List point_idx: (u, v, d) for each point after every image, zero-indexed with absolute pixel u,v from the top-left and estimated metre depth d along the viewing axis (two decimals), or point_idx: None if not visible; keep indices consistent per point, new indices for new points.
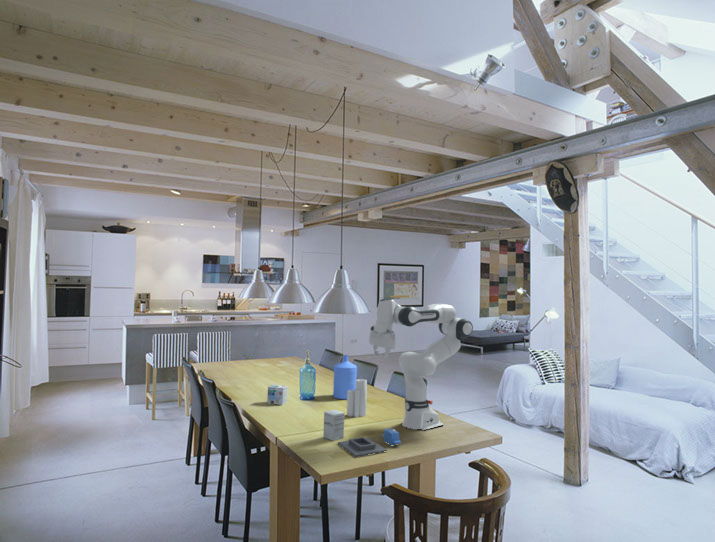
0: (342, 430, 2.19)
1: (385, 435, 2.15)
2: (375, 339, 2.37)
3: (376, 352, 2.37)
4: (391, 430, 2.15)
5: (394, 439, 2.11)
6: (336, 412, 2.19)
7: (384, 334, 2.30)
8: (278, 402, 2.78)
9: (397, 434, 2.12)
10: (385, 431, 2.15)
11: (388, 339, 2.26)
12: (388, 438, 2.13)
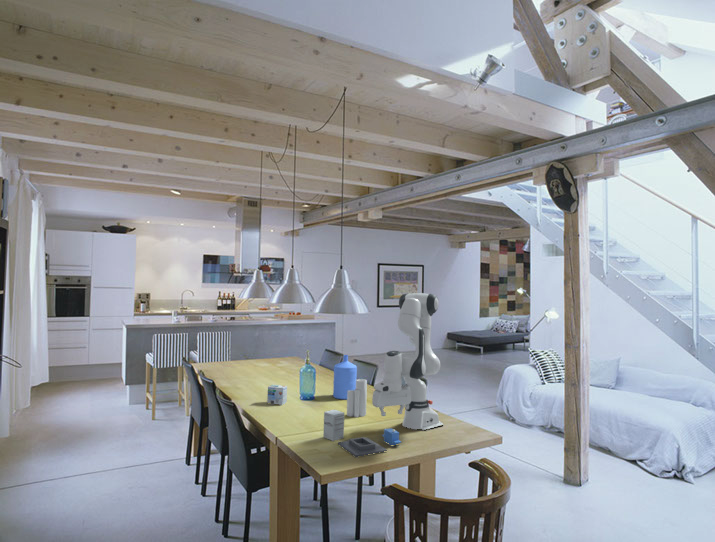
0: (342, 430, 2.19)
1: (385, 435, 2.15)
2: (386, 399, 2.11)
3: None
4: (391, 430, 2.15)
5: (394, 439, 2.11)
6: (336, 412, 2.19)
7: (401, 390, 2.15)
8: (278, 402, 2.78)
9: (397, 434, 2.12)
10: (385, 431, 2.15)
11: (408, 394, 2.17)
12: (388, 438, 2.13)
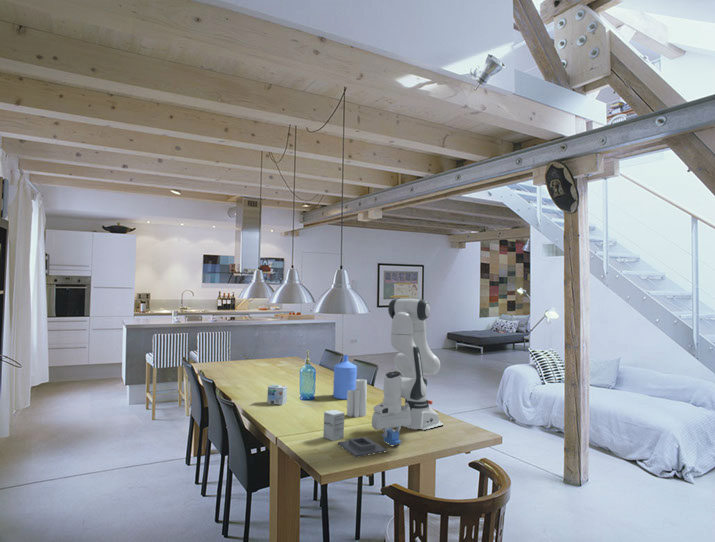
0: (342, 430, 2.19)
1: None
2: (386, 421, 2.11)
3: None
4: (391, 430, 2.15)
5: (394, 439, 2.11)
6: (336, 412, 2.19)
7: (401, 412, 2.15)
8: (278, 402, 2.78)
9: (397, 434, 2.12)
10: None
11: (408, 415, 2.17)
12: (388, 438, 2.13)
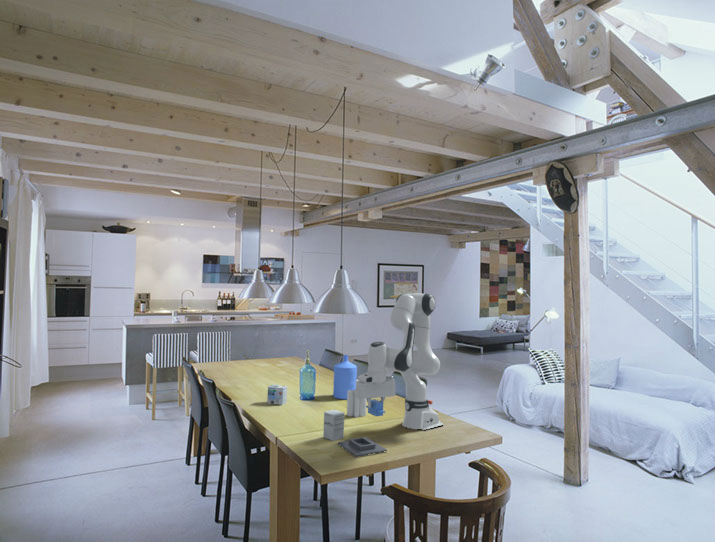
0: (342, 430, 2.19)
1: None
2: (370, 390, 2.07)
3: None
4: (375, 400, 2.10)
5: (378, 409, 2.06)
6: (336, 412, 2.19)
7: (385, 382, 2.11)
8: (278, 402, 2.78)
9: (381, 404, 2.07)
10: None
11: (392, 386, 2.13)
12: (372, 408, 2.08)
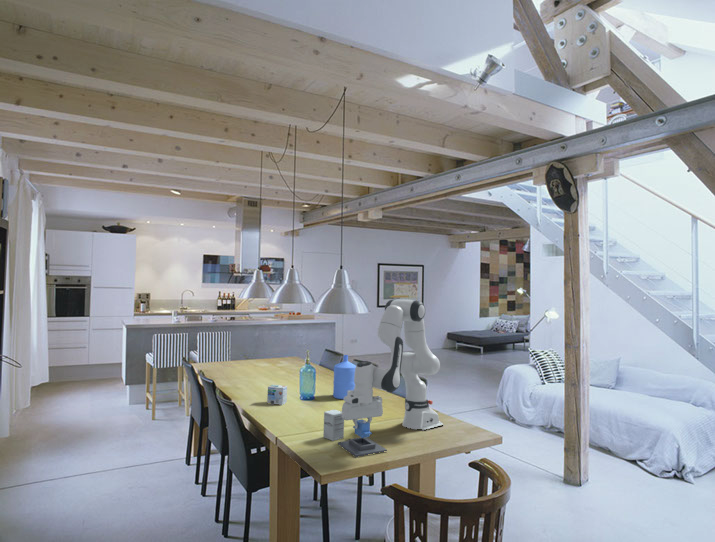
0: (342, 430, 2.19)
1: None
2: (356, 412, 2.03)
3: None
4: (362, 421, 2.07)
5: (364, 430, 2.03)
6: (336, 412, 2.19)
7: (372, 402, 2.08)
8: (278, 402, 2.78)
9: (368, 425, 2.04)
10: None
11: (379, 406, 2.09)
12: (359, 429, 2.05)
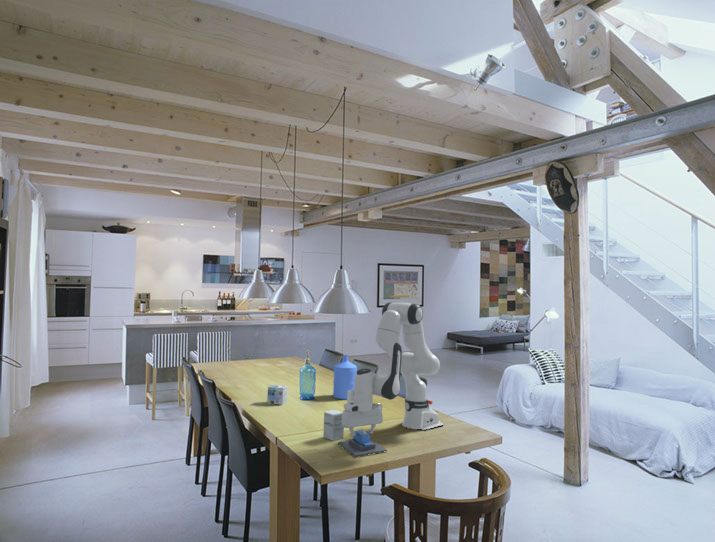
0: (342, 430, 2.19)
1: (356, 437, 2.07)
2: (356, 419, 2.04)
3: None
4: (362, 432, 2.07)
5: (364, 441, 2.03)
6: (336, 412, 2.19)
7: (372, 410, 2.08)
8: (278, 402, 2.78)
9: (368, 436, 2.04)
10: (356, 433, 2.08)
11: (379, 413, 2.09)
12: (359, 440, 2.05)
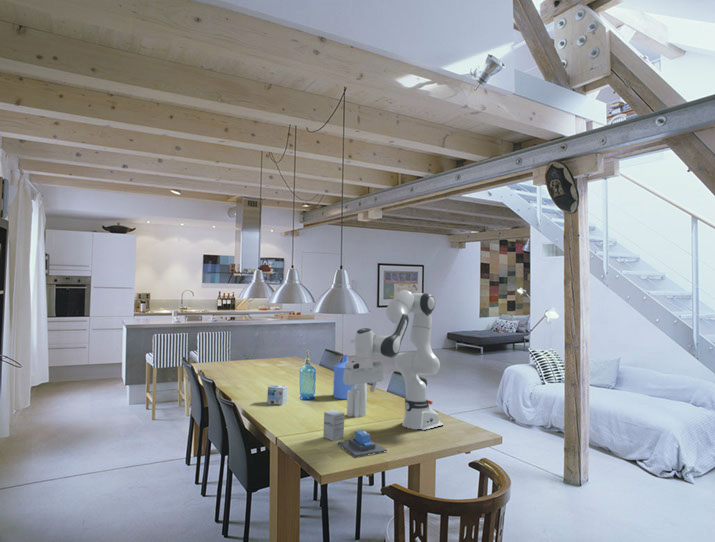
0: (342, 430, 2.19)
1: (356, 437, 2.07)
2: (357, 377, 2.09)
3: None
4: (362, 432, 2.07)
5: (364, 441, 2.03)
6: (336, 412, 2.19)
7: (373, 368, 2.13)
8: (278, 402, 2.78)
9: (368, 436, 2.04)
10: (356, 433, 2.08)
11: (380, 371, 2.15)
12: (359, 440, 2.05)
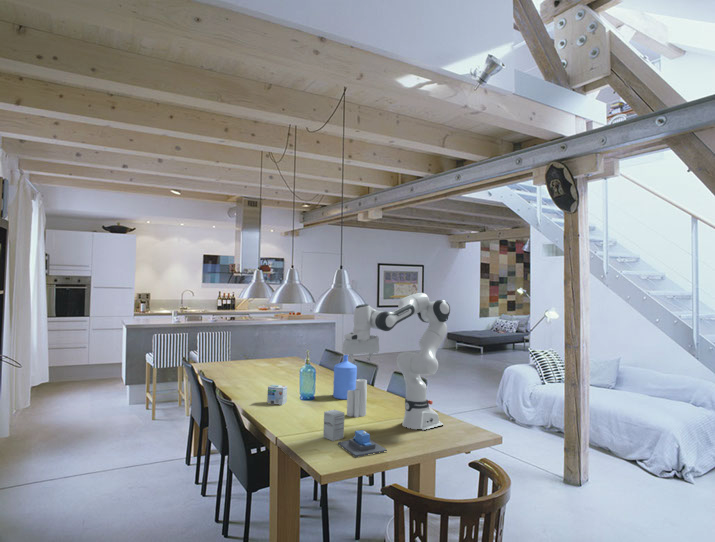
0: (342, 430, 2.19)
1: (356, 437, 2.07)
2: (355, 347, 2.30)
3: None
4: (362, 432, 2.07)
5: (364, 441, 2.03)
6: (336, 412, 2.19)
7: (370, 340, 2.34)
8: (278, 402, 2.78)
9: (368, 436, 2.04)
10: (356, 433, 2.08)
11: (376, 344, 2.36)
12: (359, 440, 2.05)
